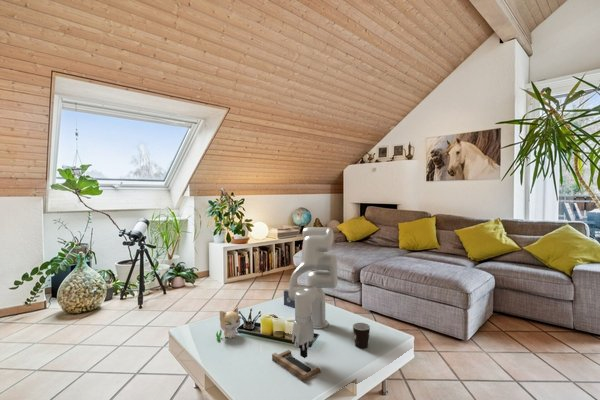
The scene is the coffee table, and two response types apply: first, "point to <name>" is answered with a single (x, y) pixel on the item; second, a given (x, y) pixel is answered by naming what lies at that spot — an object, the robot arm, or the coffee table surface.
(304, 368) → the remote control
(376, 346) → the coffee table surface
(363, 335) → the coffee mug
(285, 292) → the vhs cassette tape
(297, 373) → the walnut frame
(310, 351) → the coffee table surface
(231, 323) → the kitten
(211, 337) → the coffee table surface
